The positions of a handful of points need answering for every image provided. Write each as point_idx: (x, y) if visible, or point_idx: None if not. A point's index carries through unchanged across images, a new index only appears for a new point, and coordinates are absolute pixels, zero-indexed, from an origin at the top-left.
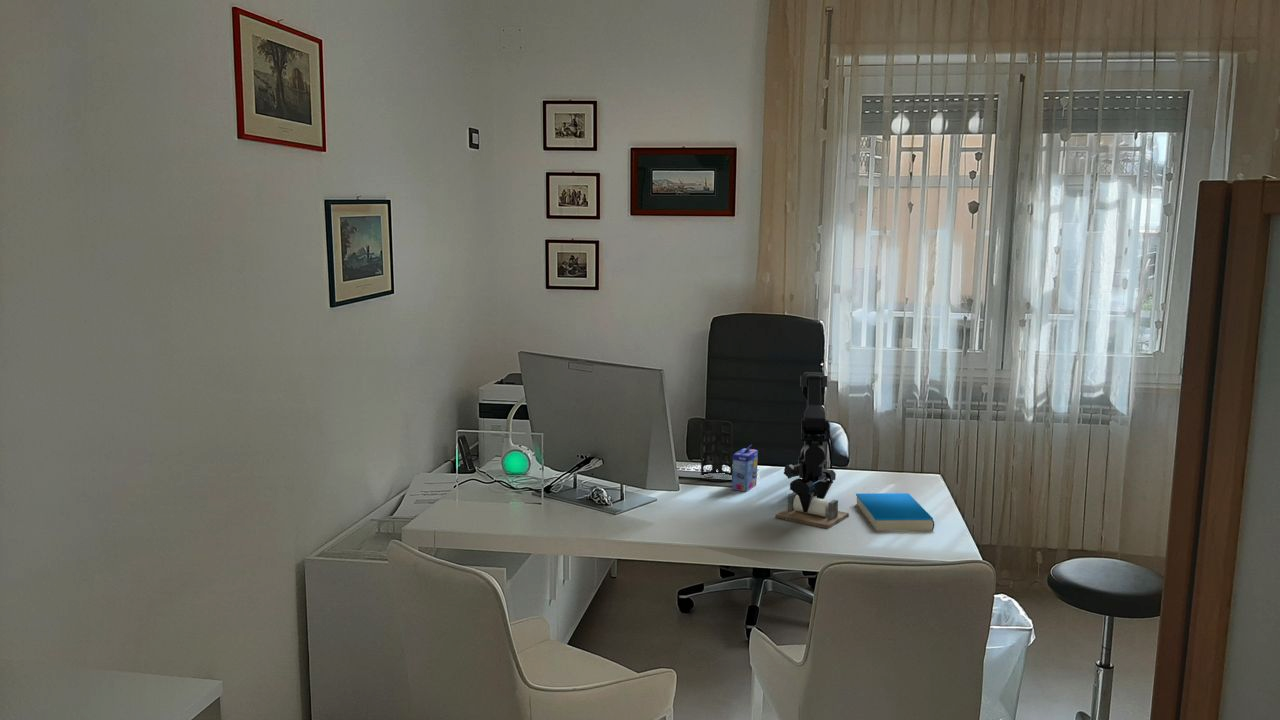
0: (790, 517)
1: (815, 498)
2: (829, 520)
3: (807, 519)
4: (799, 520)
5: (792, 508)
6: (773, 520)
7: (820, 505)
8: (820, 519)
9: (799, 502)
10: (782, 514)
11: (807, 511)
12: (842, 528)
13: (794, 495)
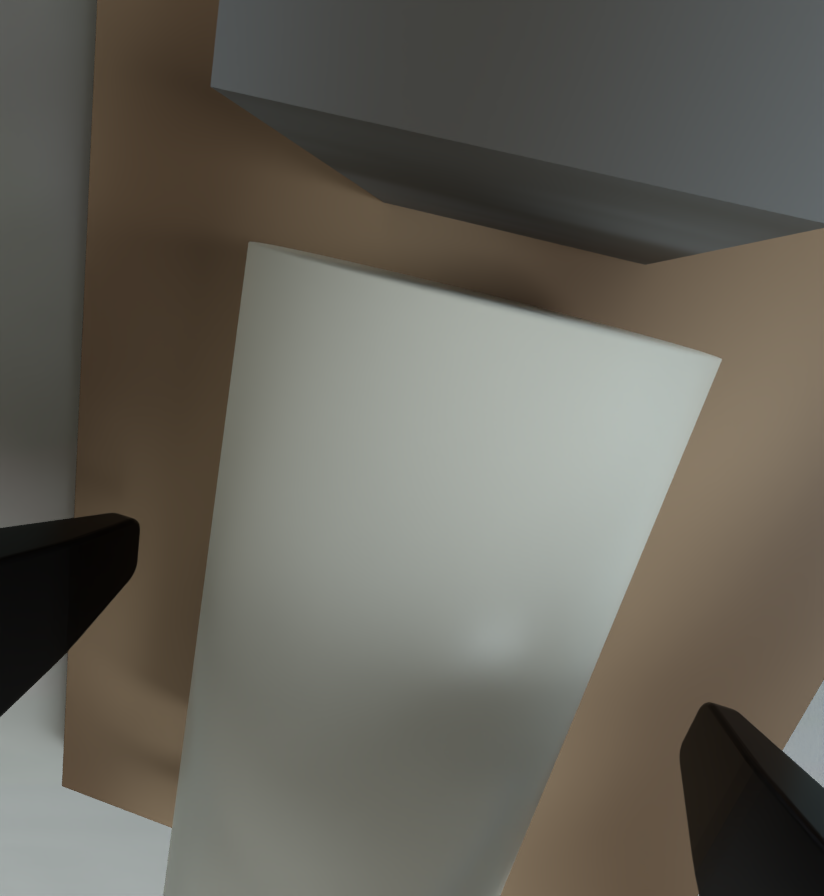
0: (85, 283)
1: (283, 887)
2: None
3: None
4: (91, 434)
5: (427, 206)
6: (8, 4)
7: (167, 874)
8: None
9: (226, 423)
10: (159, 88)
11: (121, 584)
12: None
13: (494, 164)
